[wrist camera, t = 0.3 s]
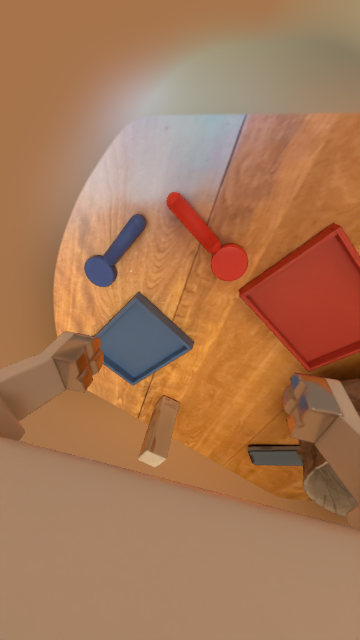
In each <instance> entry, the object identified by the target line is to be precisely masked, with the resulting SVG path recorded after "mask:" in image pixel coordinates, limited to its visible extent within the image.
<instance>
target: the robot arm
mask: <svg viewBox="0 0 360 640" xmlns="http://www.w3.org/2000/svg"><path fill="white" fill-rule="evenodd" d="M101 345H102V344H101V340H100V338H98V337H94V336H89V335H84V334H79V333H73V332H68V331H66V332H63V333H62V334H61V335H60V336H59V337H58V338H57V339H56V340H55V341H54V342H52V343H51V344H50V345H49V346H48V347H47V348H46V349H45V350H44V351H43V352H42V353H41V354H39V355H38V356H37V355H34V356H31V357H29V358H26V359H24V360H21V361H19V362H17V363H14V364H11V365H9V366H6V367H4V368H1V369H0V640H360V417H359V415H358V413H357V411H356V410H355V408H354V406H353V404H352V402H351V400H350V399H349V397H348V395H347V393H346V391H345V389H344V387H343V386H342V384H341V382H340V381H338V380H336V379H330V378H324V377H323V378H322V377H317V376H311V375H306V374H300V373H294V374H293V375H292V376H291V378H290V381H291V384H290V385H288V386H286V387H285V390H284V392H283V397H282V401H283V408H284V410H285V412H286V413H287V414H288V415H289V417H288V419H287V420H286V421H287V425H288V429H289V434H290V437H291V438H295V439H299V440H303V441H307V442H312V443H315V444H314V445H315V446H316V447H317V449H318V450H319V451H320V453H321V454H322V455H323V457H324V458H325V459H326V461H327V462H328V463H329V465H330V466H331V467H332V469H333V470H334V471H335V473H336V474H337V475H338V477H339V478H340V479H341V481H342V482H343V484H344V485H345V486H346V488H347V489H348V490H349V492H350V493H351V494H352V496H353V497H354V498H355V500H356V501H357V502H358V504H359V505H358V506H356V507H354V508H352V509H351V510H349V511H348V512H347V513H346V517H347V520H348V523H349V526H350V527H349V526H345V525H341V524H337V523H333V522H329V521H326V520H322V519H318V518H314V517H310V516H306V515H302V514H299V513H295V512H291V511H287V510H283V509H279V508H276V507H272V506H268V505H264V504H260V503H256V502H253V501H248V500H245V499H241V498H237V497H233V496H229V495H226V494H222V493H218V492H214V491H210V490H206V489H202V488H198V487H195V486H191V485H187V484H183V483H179V482H175V481H172V480H168V479H164V478H160V477H156V476H153V475H149V474H145V473H141V472H137V471H133V470H129V469H126V468H121V467H118V466H114V465H110V464H106V463H102V462H99V461H95V460H90V459H87V458H83V457H79V456H75V455H72V454H68V453H63V452H60V451H56V450H52V449H48V448H45V447H40V446H37V445H33V444H29V443H25V442H21V441H19V440H20V439H21V437H22V436H23V435H24V433H25V431H24V428H23V427H22V426H21V424H20V423H19V421H20V420H22V419H23V418H25V417H26V416H28V415H29V414H31V413H32V412H34V411H35V410H37V409H38V408H40V407H41V406H43V405H44V404H46V403H47V402H49V401H50V400H52V399H53V398H55V397H56V396H58V395H59V394H61V393H62V392H64V391H65V390H66V389H68V390H74V391H79V392H85V391H86V390H87V388H88V387H89V385H90V384H91V382H92V381H93V377H92V375H94V374H96V373H98V372H99V370H100V369H101V367H102V364H103V361H104V354H103V351H102V350H101V349H100V348H99V347H100V346H101Z"/></svg>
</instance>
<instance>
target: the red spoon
mask: <svg viewBox="0 0 360 640" xmlns="http://www.w3.org/2000/svg"><path fill="white" fill-rule="evenodd" d="M167 206H168V207H169V209H170V210H171V211H172V212H173V213H174V214H175V215H176V217H177V218H178V219H179V220H180V221H181V222H182V223H183V224H184V226H185V227H186V228H187V229H188V230H189V231H190V232H191V233H192V235H193V236H194V237H195V238H196V239H197V240H198V241H199V242H200V243H201V245H202V246H203V247H204V248H205V249H206V250H207V251H208V252H209V253H212V254H213V253H214V254H213V257H212V261H211V268H212V271H213V273H214V274H215V276H217V277H218V278H219V279H221V280H224V281H233V280H236V279H238V278H240V277H241V276H242V275H243V274H244V273H245V271H246V269H247V266H248V258H247V254H246V252H245V251H244V249H243V248H242V247H240V246H238V245H236V244H226V245H223V246H221V242H220V240H219V239H218V238H217V237H216V236H215V234H214V233H213V232H212V231H211V230H210V229H209V227H208V226H207V225H206V224H205V223H204V222H203V220H202V219H201V218H200V217H199V216H198V215H197V213H196V212H195V211H194V210H193V209H192V208H191V206H190V205H189V204H188V203H187V202H186V200H185V199H184V198H183V197H182V196H181V195H180V194H179V193H177V192H172V193H170V194H169V195H168V197H167Z"/></svg>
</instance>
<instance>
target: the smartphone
mask: <svg viewBox="0 0 360 640" xmlns="http://www.w3.org/2000/svg"><path fill="white" fill-rule="evenodd" d="M298 450H300V446H253V447H249V448H248V453H249V456H250V458H251V461H252V463H253V464H254V465H288V466H303V462H302V460H301V459H300V458H298V456H297V455H296V451H298Z"/></svg>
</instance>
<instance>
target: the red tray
mask: <svg viewBox="0 0 360 640" xmlns="http://www.w3.org/2000/svg"><path fill="white" fill-rule="evenodd" d="M239 293H240V297H241V298H242V299H243V300H244V301H245V303H246V304H247V305H248V306H249V307H250V308H251V309H252V310H253V311H254V312H255V314H256V315H257V316H258V317H259V318H260V319H261V320H262V321H263V322H264V323H265V325H266V326H267V327H268V328H269V329H270V330H271V331H272V332H273V333H274V334H275V336H276V337H277V338H278V339H279V340H280V341H281V342H282V343H283V344H284V346H285V347H286V348H287V349H288V350H289V351H290V352H291V353H292V354H293V355H294V357H295V358H296V359H297V360H298V361H299V362H300V363H301V364H302V365H303V366H304V368H305V369H306V370H307V371H308V372H309V371H312V370H314V369H317V368H320V367H322V366H325V365H327V364H330V363H332V362H335V361H338V360H340V359H343V358H345V357H348V356H351V355H353V354H356V353H358V352H360V256H359V254H358V253H357V251H356V249H355V248H354V246H353V245H352V243H351V241H350V240H349V238H348V237H347V235H346V233H345V232H344V230H343V229H342V227H341V226H339V225H337V224H335V223H333V224H332V225H330V226H329V227H328V228H326V229H325V230H323V231H322V232H321V233H319V234H318V235H316V236H315V237H313V238H312V239H311V240H309V241H308V242H306V243H305V244H304V245H302V246H301V247H299V248H298V249H297V250H295V251H294V252H292V253H291V254H289V255H288V256H287V257H285V258H284V259H282V260H281V261H280V262H278V263H277V264H275V265H274V266H272V267H271V268H270V269H268V270H267V271H265V272H264V273H263V274H261V275H260V276H258V277H257V278H255V279H254V280H253V281H251V282H250V283H248V284H247V285H246V286H244V287H243V288H241V289H240V290H239Z"/></svg>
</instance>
